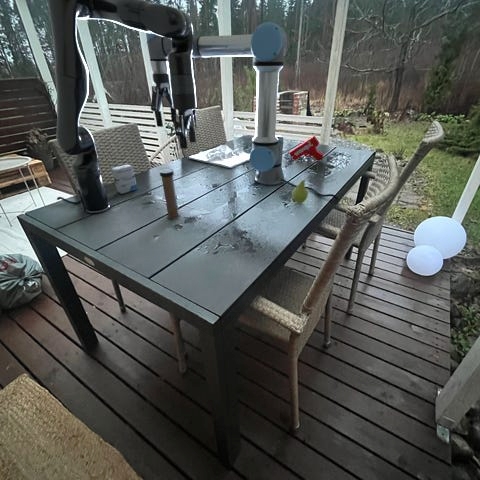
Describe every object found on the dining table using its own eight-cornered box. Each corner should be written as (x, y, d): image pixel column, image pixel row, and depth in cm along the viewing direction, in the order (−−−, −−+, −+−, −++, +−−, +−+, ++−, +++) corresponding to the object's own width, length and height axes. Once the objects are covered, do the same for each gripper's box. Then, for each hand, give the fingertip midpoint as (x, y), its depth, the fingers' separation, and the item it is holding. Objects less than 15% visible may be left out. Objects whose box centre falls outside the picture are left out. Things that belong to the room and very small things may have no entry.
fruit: (288, 200, 123) (290, 174, 116) (302, 197, 125) (305, 172, 119) (296, 206, 118) (299, 179, 111) (310, 203, 120) (314, 177, 114)
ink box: (133, 186, 138) (127, 163, 132) (137, 189, 135) (132, 165, 129) (116, 191, 133) (110, 167, 127) (121, 194, 130) (114, 170, 124)
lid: (166, 172, 104) (165, 168, 104) (176, 174, 102) (176, 170, 102) (157, 175, 101) (156, 171, 100) (167, 178, 99) (166, 173, 98)
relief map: (230, 168, 162) (230, 159, 159) (189, 158, 180) (188, 150, 177) (256, 157, 180) (256, 149, 177) (216, 149, 198) (215, 142, 195)
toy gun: (327, 155, 171) (314, 135, 167) (326, 157, 167) (314, 136, 164) (302, 170, 181) (290, 151, 177) (301, 172, 177) (288, 153, 174)
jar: (173, 213, 113) (166, 169, 103) (180, 215, 112) (174, 171, 102) (166, 217, 110) (158, 172, 100) (173, 219, 109) (166, 174, 99)
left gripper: (180, 89, 91) (185, 140, 100) (162, 93, 79) (170, 150, 88) (201, 90, 90) (205, 140, 99) (186, 93, 78) (192, 151, 87)
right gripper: (167, 72, 132) (173, 119, 143) (136, 73, 112) (146, 128, 123) (181, 72, 130) (186, 120, 141) (151, 73, 110) (160, 129, 121)
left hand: (188, 145), depth 93 cm, fingers open, 8 cm apart
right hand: (167, 124), depth 132 cm, fingers open, 13 cm apart
